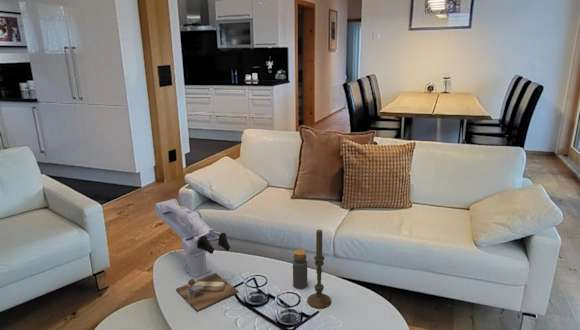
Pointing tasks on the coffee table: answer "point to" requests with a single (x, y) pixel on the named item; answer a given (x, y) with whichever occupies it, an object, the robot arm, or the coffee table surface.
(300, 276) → the bottle
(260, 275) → the coffee table surface
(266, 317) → the coffee table surface
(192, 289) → the keeper
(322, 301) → the candlestick holder
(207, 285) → the link
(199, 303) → the board
